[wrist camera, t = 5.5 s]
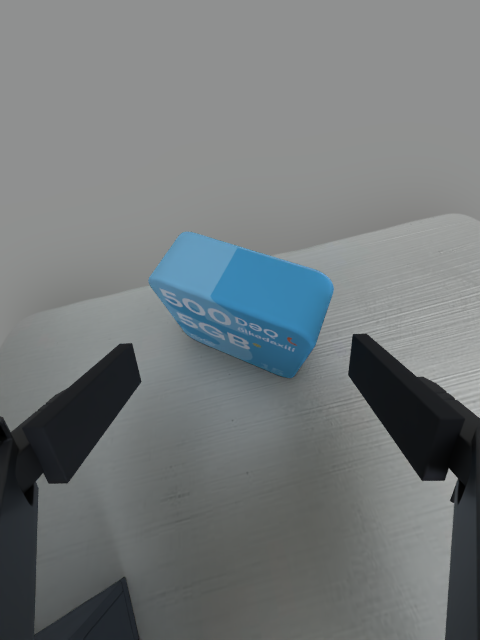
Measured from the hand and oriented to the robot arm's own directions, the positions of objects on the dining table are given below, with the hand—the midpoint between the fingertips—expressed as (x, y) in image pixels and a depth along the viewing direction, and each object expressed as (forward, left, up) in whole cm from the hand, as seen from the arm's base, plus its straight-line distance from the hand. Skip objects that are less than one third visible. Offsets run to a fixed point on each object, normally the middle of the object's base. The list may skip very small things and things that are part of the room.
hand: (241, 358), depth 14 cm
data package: (-4, +2, -11) cm, 12 cm away
